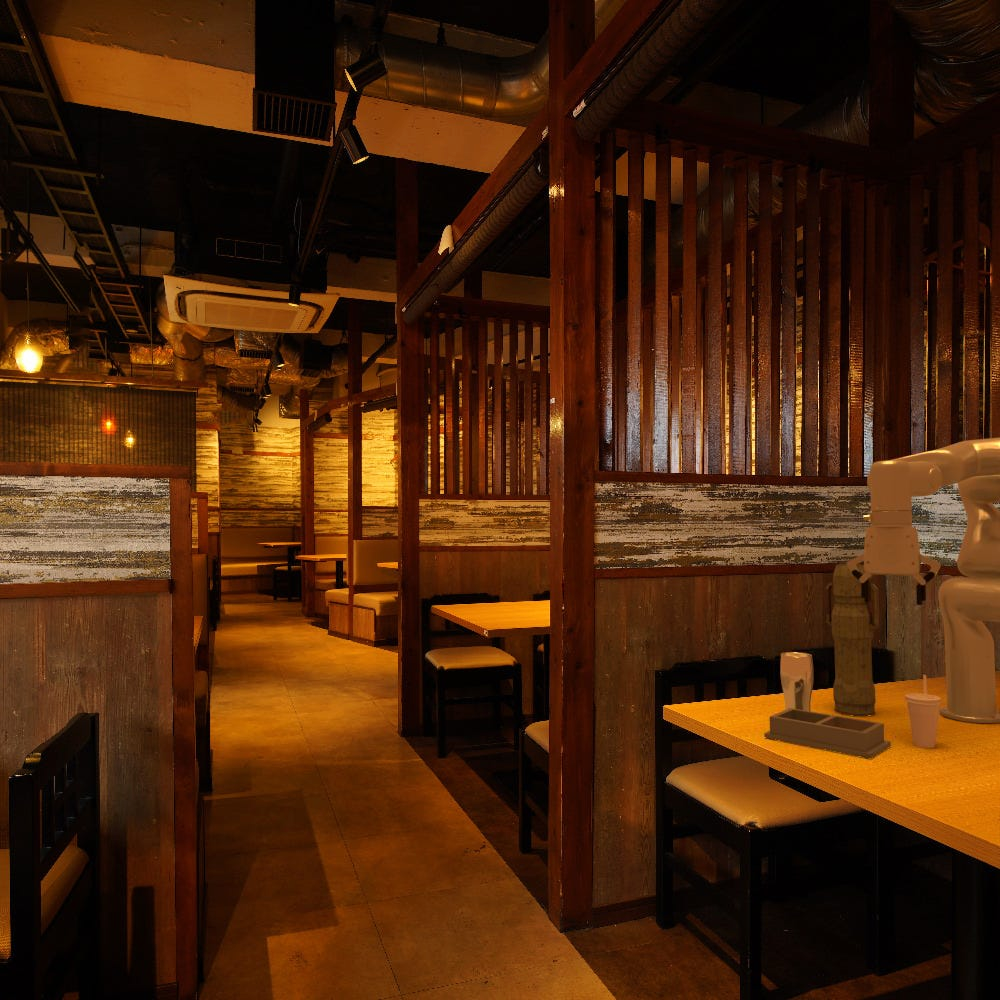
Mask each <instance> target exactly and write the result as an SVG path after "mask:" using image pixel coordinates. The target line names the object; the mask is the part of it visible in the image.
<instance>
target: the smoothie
mask: <svg viewBox="0 0 1000 1000" xmlns="http://www.w3.org/2000/svg"><path fill="white" fill-rule="evenodd" d="M922 679H923V682H922V683H923V684H922V685H923V693H922V692H920V693H919V692H910V693H906V694H905V695H904V701H905V702H906V704H907V710H908V715H909V716H908V717H909V722H910V727H911V728H910V729H911V734H912V740H913V745H914V746H915V745H916V746H915V747H918V746H919V748H923V747H924V749H933V748H936V742H937V733H938V724H939V714H940V705H942V697H940V696H938V695H935V694H932V693H928V690H927V689H928V685H927V674H923V675H922Z"/></svg>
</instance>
